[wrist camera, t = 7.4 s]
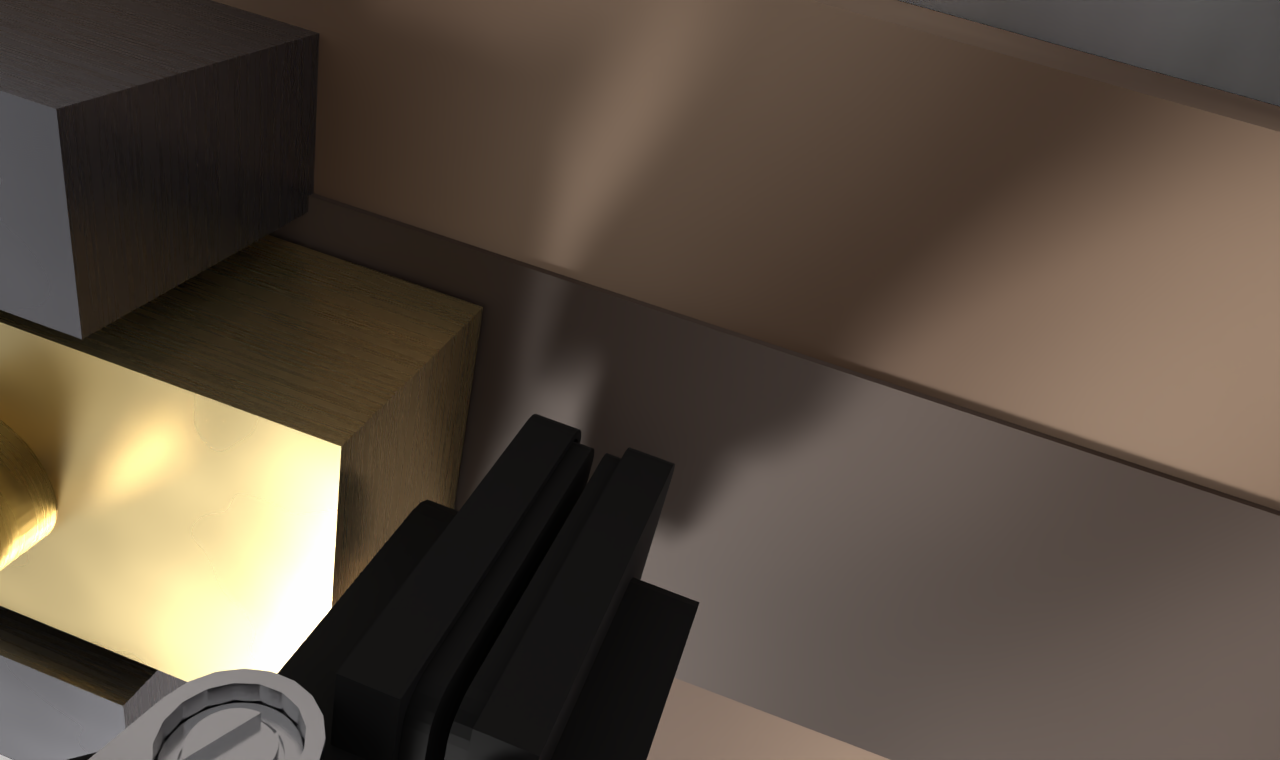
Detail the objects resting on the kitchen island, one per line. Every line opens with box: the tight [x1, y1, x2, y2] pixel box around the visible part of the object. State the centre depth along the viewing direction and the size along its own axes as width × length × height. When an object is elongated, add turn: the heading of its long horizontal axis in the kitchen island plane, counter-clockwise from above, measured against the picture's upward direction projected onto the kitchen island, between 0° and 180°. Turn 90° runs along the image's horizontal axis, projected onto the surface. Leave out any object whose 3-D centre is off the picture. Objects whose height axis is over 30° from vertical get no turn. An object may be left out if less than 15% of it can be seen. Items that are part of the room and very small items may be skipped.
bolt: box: [0, 235, 483, 682], centre depth 10 cm, size 8×4×5 cm, turn 77°
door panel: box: [212, 0, 1280, 760], centre depth 12 cm, size 28×12×2 cm, turn 77°
